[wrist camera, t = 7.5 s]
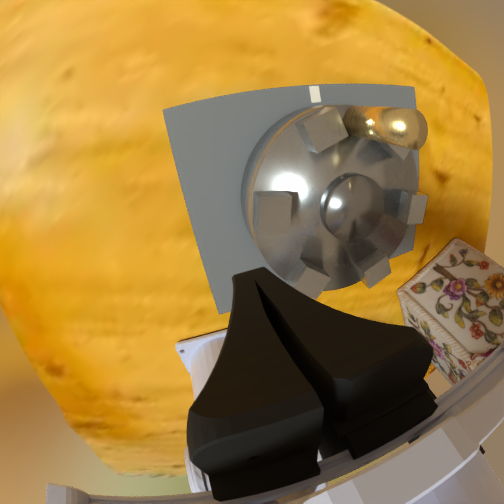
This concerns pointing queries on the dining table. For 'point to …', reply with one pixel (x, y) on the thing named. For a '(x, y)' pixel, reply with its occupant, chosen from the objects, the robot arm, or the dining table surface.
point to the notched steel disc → (334, 193)
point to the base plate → (235, 159)
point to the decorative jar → (457, 308)
